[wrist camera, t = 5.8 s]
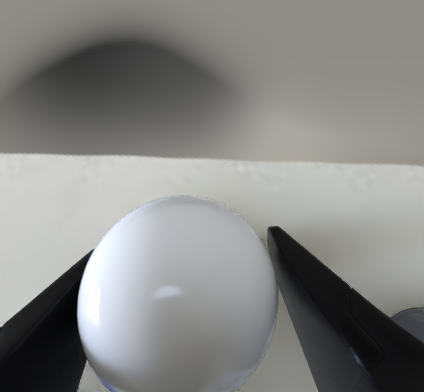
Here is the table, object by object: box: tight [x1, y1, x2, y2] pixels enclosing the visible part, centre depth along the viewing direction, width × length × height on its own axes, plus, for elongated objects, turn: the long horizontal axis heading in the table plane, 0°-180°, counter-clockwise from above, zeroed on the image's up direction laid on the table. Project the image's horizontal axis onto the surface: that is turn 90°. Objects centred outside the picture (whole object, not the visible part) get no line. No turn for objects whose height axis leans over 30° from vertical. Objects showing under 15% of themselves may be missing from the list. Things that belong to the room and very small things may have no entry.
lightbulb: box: [77, 195, 278, 392], centre depth 10 cm, size 6×6×11 cm
